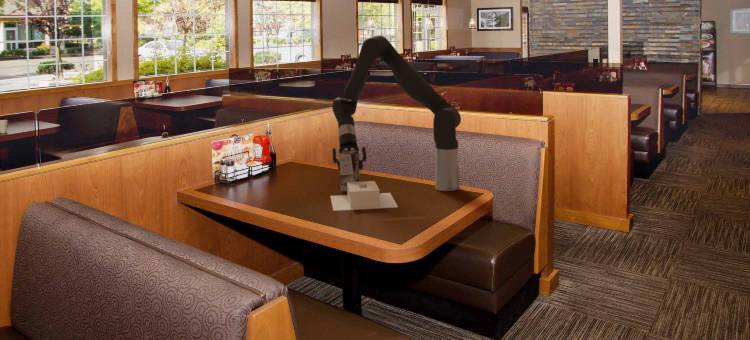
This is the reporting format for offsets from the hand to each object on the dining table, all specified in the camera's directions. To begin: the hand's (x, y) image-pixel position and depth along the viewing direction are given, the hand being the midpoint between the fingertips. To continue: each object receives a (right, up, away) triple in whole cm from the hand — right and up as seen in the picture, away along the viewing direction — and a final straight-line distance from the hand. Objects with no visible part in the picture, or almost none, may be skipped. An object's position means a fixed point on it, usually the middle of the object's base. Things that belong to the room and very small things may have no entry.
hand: (350, 170), depth 253 cm
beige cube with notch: (+5, -12, -18) cm, 22 cm away
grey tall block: (0, -8, +1) cm, 8 cm away
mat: (+5, -12, -18) cm, 22 cm away
